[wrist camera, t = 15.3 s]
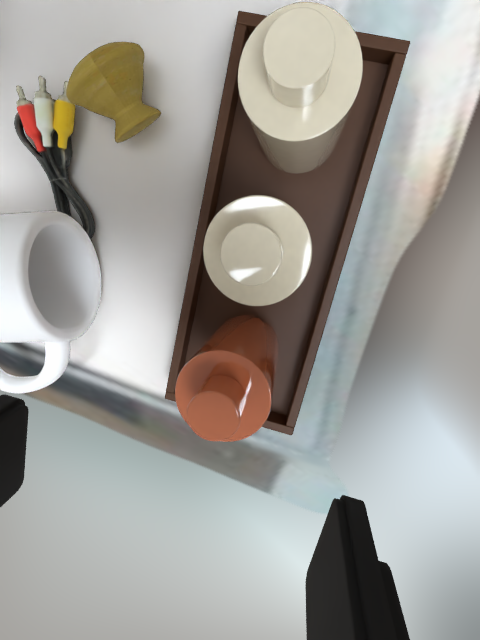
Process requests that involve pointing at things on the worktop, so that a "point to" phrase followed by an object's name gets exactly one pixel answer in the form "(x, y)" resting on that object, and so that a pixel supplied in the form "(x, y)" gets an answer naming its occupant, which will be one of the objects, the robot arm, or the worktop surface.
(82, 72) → the knob
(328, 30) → the cream bottle
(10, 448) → the robot arm
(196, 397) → the terracotta bottle
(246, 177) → the tray
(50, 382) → the mug
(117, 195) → the worktop surface
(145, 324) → the worktop surface
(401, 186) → the worktop surface
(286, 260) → the cream bottle
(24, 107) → the composite cable
